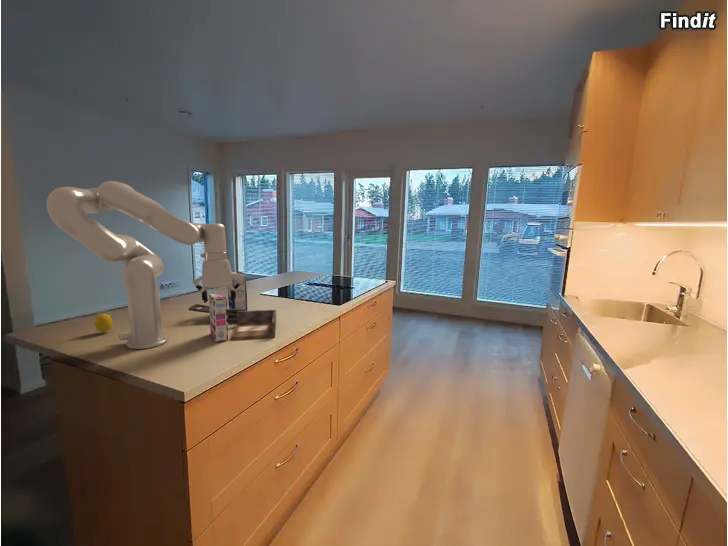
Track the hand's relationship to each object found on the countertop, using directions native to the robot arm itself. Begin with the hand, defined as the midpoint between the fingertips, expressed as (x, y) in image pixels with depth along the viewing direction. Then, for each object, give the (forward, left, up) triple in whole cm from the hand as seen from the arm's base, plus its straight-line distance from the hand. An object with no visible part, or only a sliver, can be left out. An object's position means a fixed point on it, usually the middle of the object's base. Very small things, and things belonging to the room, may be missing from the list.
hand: (219, 301), depth 124 cm
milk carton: (+1, +37, -15) cm, 40 cm away
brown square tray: (+12, +5, -14) cm, 20 cm away
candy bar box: (-1, 0, -15) cm, 15 cm away
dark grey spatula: (-4, +22, -15) cm, 27 cm away
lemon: (-45, +12, -15) cm, 48 cm away
